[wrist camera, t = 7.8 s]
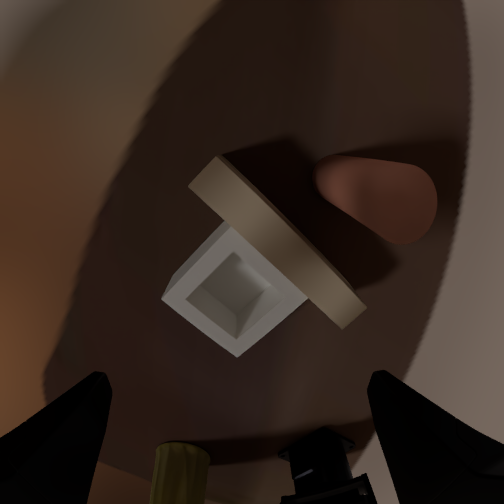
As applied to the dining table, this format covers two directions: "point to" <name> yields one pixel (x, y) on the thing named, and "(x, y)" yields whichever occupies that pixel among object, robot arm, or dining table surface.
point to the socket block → (231, 291)
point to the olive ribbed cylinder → (179, 474)
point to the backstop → (277, 239)
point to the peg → (379, 195)
